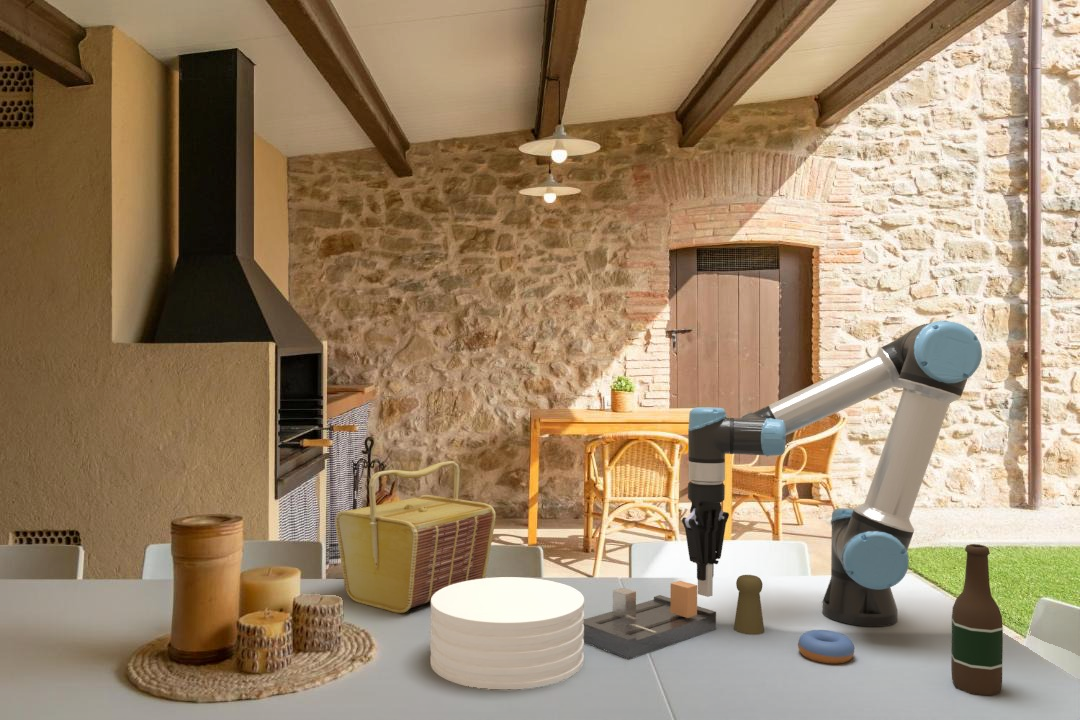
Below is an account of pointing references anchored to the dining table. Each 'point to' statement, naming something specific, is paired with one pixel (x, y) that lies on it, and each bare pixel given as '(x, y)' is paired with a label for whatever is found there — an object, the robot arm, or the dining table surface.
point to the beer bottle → (977, 630)
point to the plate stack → (507, 632)
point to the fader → (683, 599)
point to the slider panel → (643, 625)
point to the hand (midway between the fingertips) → (705, 594)
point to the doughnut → (826, 646)
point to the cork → (749, 606)
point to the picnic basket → (412, 545)
